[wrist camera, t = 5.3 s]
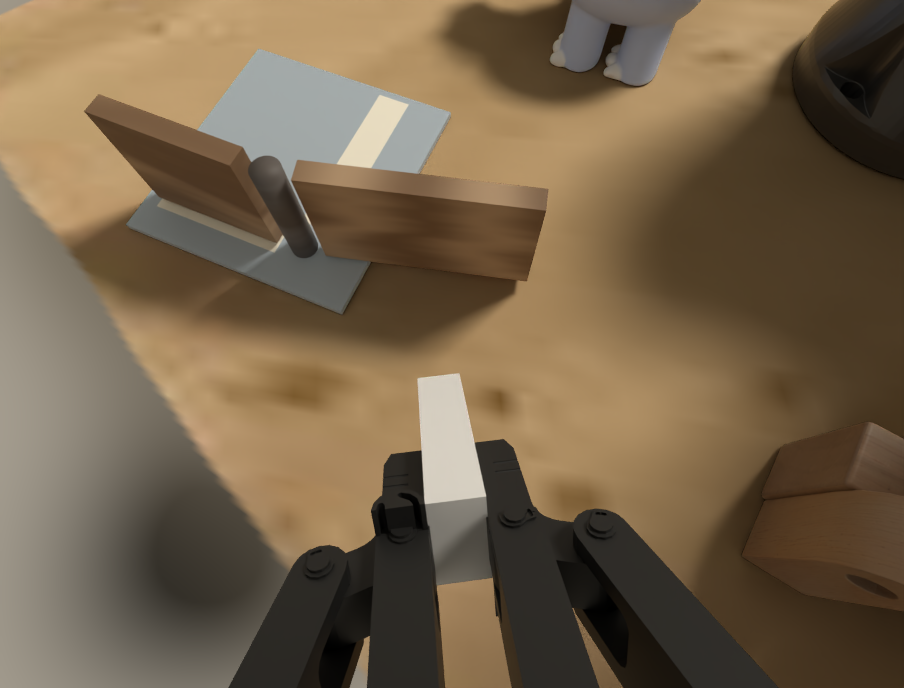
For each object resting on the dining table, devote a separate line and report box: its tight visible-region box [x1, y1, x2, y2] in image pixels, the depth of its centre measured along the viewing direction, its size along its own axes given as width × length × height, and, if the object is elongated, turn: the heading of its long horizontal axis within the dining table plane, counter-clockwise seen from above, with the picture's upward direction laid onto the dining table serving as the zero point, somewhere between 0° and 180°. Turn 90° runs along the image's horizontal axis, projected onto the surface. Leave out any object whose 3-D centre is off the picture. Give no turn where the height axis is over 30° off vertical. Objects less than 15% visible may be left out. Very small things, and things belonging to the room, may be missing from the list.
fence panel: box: [291, 160, 548, 281], centre depth 28 cm, size 12×1×7 cm, turn 82°
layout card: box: [126, 49, 451, 315], centre depth 34 cm, size 16×15×1 cm
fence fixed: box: [84, 94, 318, 258], centre depth 29 cm, size 2×11×8 cm, turn 66°
